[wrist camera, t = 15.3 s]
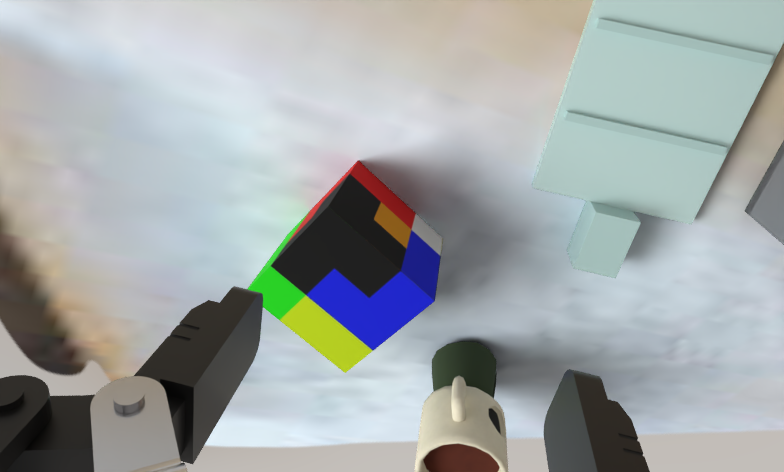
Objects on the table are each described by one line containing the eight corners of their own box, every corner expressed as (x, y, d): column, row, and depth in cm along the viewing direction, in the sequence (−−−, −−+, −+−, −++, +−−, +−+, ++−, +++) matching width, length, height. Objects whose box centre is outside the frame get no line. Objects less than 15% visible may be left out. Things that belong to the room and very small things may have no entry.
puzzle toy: (443, 238, 45) (434, 300, 37) (368, 302, 50) (345, 373, 41) (358, 160, 43) (327, 206, 35) (288, 233, 48) (244, 292, 39)
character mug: (502, 405, 53) (509, 524, 41) (432, 403, 54) (420, 518, 42) (500, 315, 48) (507, 421, 36) (423, 316, 49) (407, 418, 38)
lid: (619, -80, 34) (632, -86, 31) (816, -40, 33) (848, -42, 30) (513, 237, 44) (516, 255, 41) (660, 272, 44) (673, 292, 41)
